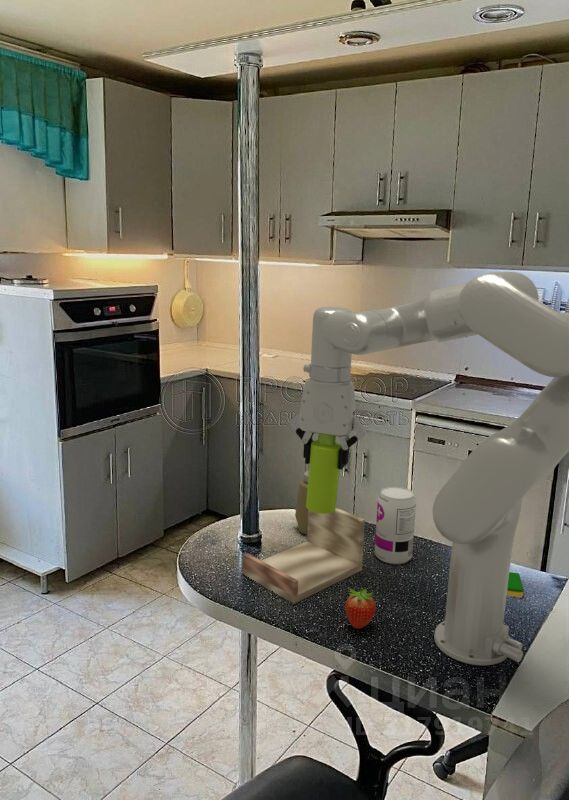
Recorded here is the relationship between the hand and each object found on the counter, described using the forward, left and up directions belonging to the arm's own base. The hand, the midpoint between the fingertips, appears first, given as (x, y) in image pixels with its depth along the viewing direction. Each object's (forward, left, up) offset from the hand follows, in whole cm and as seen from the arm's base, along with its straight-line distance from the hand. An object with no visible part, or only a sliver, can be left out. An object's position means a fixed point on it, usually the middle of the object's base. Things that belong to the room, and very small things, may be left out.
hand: (325, 463), depth 128 cm
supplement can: (-3, -20, -25) cm, 32 cm away
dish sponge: (-23, -24, -26) cm, 42 cm away
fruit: (-16, +7, -25) cm, 31 cm away
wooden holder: (+5, 0, -25) cm, 25 cm away
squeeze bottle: (+18, -16, -25) cm, 34 cm away
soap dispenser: (0, 0, -9) cm, 9 cm away
